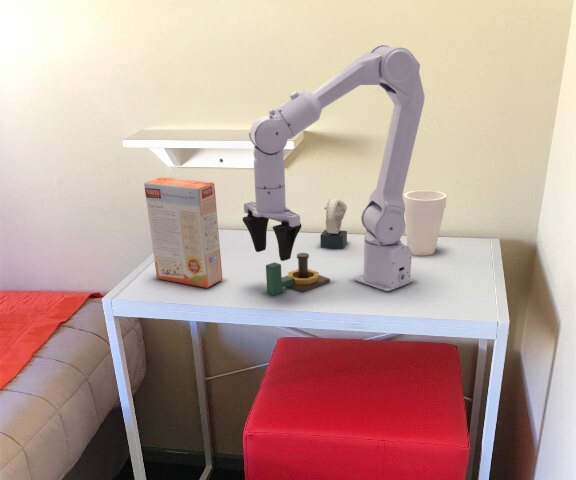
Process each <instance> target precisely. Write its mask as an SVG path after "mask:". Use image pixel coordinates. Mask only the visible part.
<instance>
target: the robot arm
mask: <svg viewBox="0 0 576 480" xmlns="http://www.w3.org/2000/svg"><path fill="white" fill-rule="evenodd" d="M420 68H421V64H420V62H419V61H418V60H417V57H415V55H414V54H413V53H412V52H411V50H409V49H408V48H406V47H402V46H399V47H394V46H389V45H386V44H380V45H377V46H376V47H374V48H373V49H372V50H370V52H369V51H367V52H365V53H363V54H361V55H360V56H359V57H357V58H356V59H354V61H352V62H351V63H349V64H348V65H347V66H345V67H344V68H343V69H341V70H340V71H338V73H336V74H335V75H334V76H332V77H331V78H330V79H328V80H327V81H326V82H324V83H323V84H322V85H321V86H319V87H318V88H316V89H315V90H314V91H312V92H310V91H306V90H301V91H300V92H297V91H293V92H291V93H290V94H289V97H290V99H288V100H287V101H285V102H284V103H282V104H281V105H280V106H278V107H276V108H275V109H274V108H270V109H269V110H267V113H268V115H269V116H267V115H266V116H260V117H258V118H257V119H255V120H254V122H253V123H252V125H251V127H250V129H249V130H250V131H249V133H248V136H249V137H248V138H249V140H250V142H251V144H252V145H253V177H254V195H255V201H247V202H244V203H243V212H244V214H246V216H243V217H242V222H243V223H244V224H243V225H245V227H246V228H247V231H248V232H249V235H250V238H251V240H252V241H251V242H252V244H253V247H254V250H255V252H256V253H260V252H263V251H266V249H267V230H268V226H269V220H272V221H276V222H279V224H277V225H273V226H272V230H273V231H274V235H275V238H276V241H277V247H278V257H279V260H280V261H281V262H285V261H288V260H291V257H292V252H293V249H294V246H295V245H294V244H295V243H296V242H295V241H296V239H297V236H298V234H299V232H300V230H301V229H302V223H301V214H299V213H295V212H294V211H293V210H291V209H289V208H288V207H287V204H286V203H287V202H286V176H285V175H286V174H285V171H286V170H285V159H284V149H285V147H286V145H287V143H288V140H291V139H293V138H294V137H296V136H297V135H298V134H300V133H301V132H303V131H305V130H306V129H307V128H309V127H310V126H312V125H313V124H315V123H317V122H318V121H319V120H320V118H321V115H322V111H323V109H324V108H326V107H327V106H329V105H330V104H332V103H334V102H335V101H337V100H339V99H341V98H342V97H343V96H345V95H347V94H349V93H350V92H351V91H353V90H355V89H356V88H358V87H359V86H380V87H381V88H382V89H383V90H384V91H385V93H386V94H387V96H388V97H389V99H390V100H391V102H392V103H393V109H392V114H391V118H390V123H389V128H388V132H387V137H386V142H385V146H384V150H383V155H382V160H381V164H380V169H379V174H378V179H377V183H376V188H375V189H374V190H373V191H372V193H371V194H370V195H369V199H368V202H367V204H366V206H365V207H364V208H363V210H362V212H361V216H360V220H361V224H362V227H364V229H365V230H366V231H365V234H364V241H363V242H364V243H363V250H364V251H363V274H362V275H359V276H356V277H354V281H355V282H358V283H361V284H364V285H367V286H370V287H373V288H375V289H378V290H381V291H385V292H391V291H393V290H395V289H398V288H401V287H403V286H406V285H408V284H411V283H412V282H413V279H412V278H411V273H412V272H411V271H412V255H413V254H411V250H410V248H409V247H408V246H407V244H406V245H405V244H404V243H403V242H402V241H401V239H402V237H403V236H404V234H405V231H406V219H405V204H404V195H403V194H404V190H405V187H406V186H405V185H406V181H407V177H408V173H409V168H410V163H411V161H412V156H413V150H414V146H415V142H416V138H417V134H418V130H419V126H420V122H421V117H422V112H423V109H424V105H425V92H424V88H423V83H422V79H421V74H420Z"/></svg>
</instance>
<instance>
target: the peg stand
mask: <svg viewBox="0 0 576 480" xmlns="http://www.w3.org/2000/svg"><path fill="white" fill-rule="evenodd" d="M309 254H310V253H308V252H298V253H297V254H296V258H297V269H298V276H296V278H310V277H312V276H309V275H308V269H309V258H310V255H309ZM281 277H282V279H285V278H288V275H285V276H281ZM329 283H331V279H330V278H329V277H326V276H323V275H320V274H319V277H318V281H317V282H314V283H311V284H292V285H289V286H286V288H290V289H292V290H295V291H297V292H300V293H304V292H307V291H310V290H313V289H315V288H318V287H321V286H323V285H326V284H329Z"/></svg>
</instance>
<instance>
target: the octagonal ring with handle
mask: <svg viewBox="0 0 576 480" xmlns="http://www.w3.org/2000/svg"><path fill="white" fill-rule="evenodd" d="M308 275H309V276H312V277H310V278H296V276H298V268H297V269H294V270H292V271H289V272H287V276H288V278H285V279H282V277H283V276H282V264H280V263H278V262H272V263H268V264H266V265H265V276H266V277H265V279H266V293H267V294H269V295H271V296H276V295H279V294H281V293H283V288H287V286H289V285H292V284H311V283H314V282H317V281H318V277H319V275H320V273H319V271H316V270H314V269H309V268H308Z"/></svg>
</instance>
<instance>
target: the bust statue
mask: <svg viewBox="0 0 576 480" xmlns="http://www.w3.org/2000/svg"><path fill="white" fill-rule="evenodd" d="M324 210H326V211H325V229H324V230H323V231H322V232H321V234H320V248H321V249H334V250H335V249H336V250H337V249H338V250H344V249H345V247H346V245H347V244H348V231H347V230H341V228H342V222H343V220H344V218H345V215H346V212H347V210H348V207H347V204H346V203H345V201H343V200H341V199H339V198H332V199H328V200H327V202H326V205H325V206H324Z"/></svg>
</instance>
